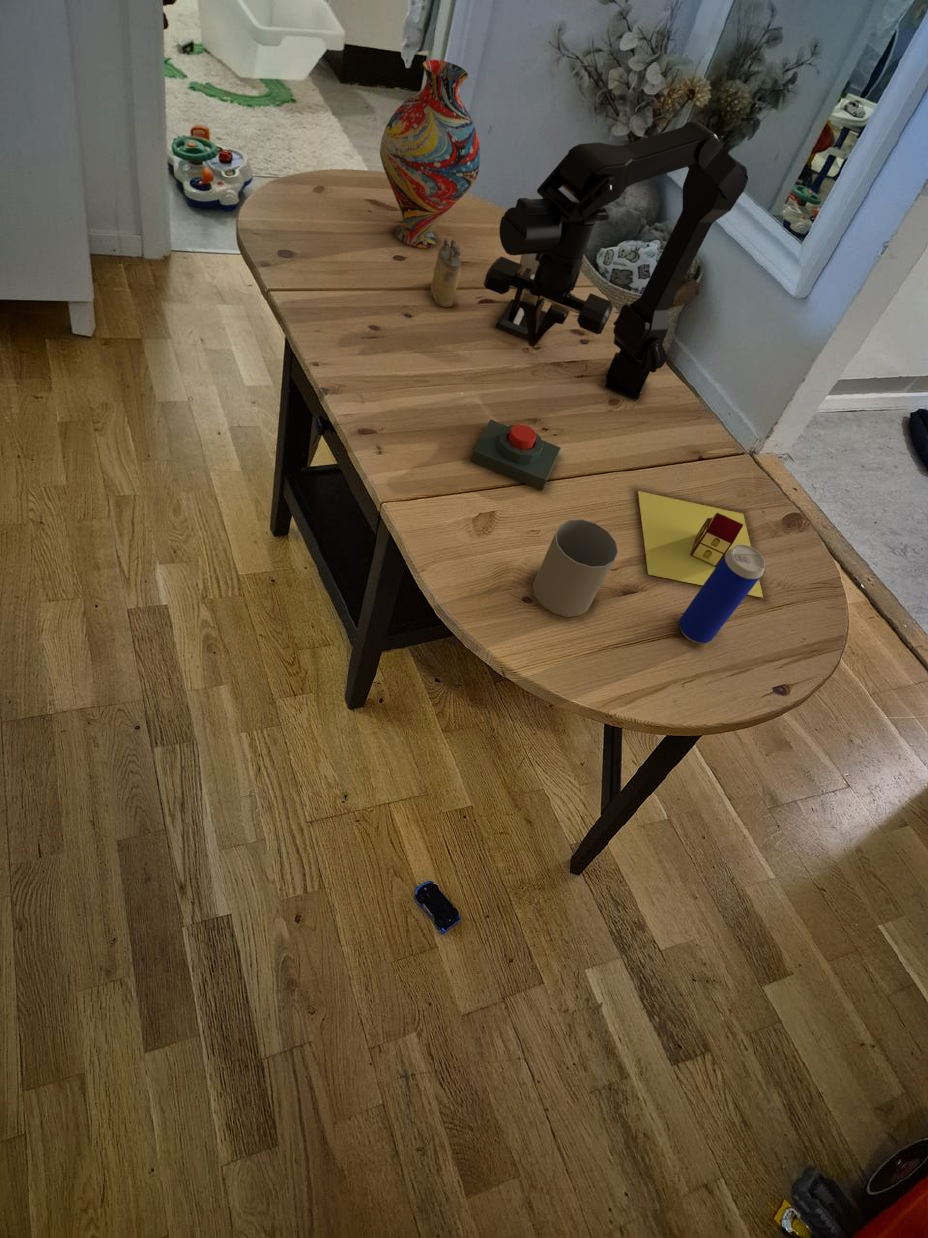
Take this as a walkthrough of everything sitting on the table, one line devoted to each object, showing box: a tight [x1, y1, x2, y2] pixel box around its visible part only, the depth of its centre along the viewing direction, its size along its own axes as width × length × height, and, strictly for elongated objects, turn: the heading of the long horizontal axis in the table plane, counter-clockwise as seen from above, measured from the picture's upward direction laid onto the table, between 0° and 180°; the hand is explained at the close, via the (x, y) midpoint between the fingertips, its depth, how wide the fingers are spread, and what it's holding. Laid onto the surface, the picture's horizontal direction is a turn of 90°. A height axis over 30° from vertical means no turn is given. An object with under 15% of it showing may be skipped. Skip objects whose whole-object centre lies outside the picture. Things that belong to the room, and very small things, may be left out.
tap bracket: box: [494, 268, 547, 342], centre depth 147 cm, size 10×8×9 cm
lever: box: [498, 274, 535, 340], centre depth 143 cm, size 12×5×2 cm, turn 161°
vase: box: [379, 59, 481, 249], centre depth 150 cm, size 19×19×30 cm
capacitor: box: [429, 237, 462, 308], centre depth 146 cm, size 7×4×10 cm, turn 16°
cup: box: [532, 518, 619, 618], centre depth 105 cm, size 8×8×10 cm
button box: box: [469, 419, 562, 492], centre depth 123 cm, size 12×9×4 cm
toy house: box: [690, 512, 744, 567], centre depth 118 cm, size 6×7×8 cm
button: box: [508, 424, 537, 450], centre depth 121 cm, size 4×4×2 cm
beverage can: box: [678, 545, 766, 644], centre depth 104 cm, size 5×5×15 cm
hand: (532, 345), depth 124 cm, fingers closed
